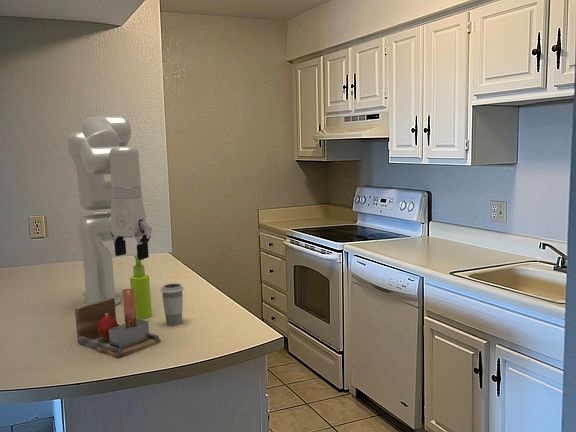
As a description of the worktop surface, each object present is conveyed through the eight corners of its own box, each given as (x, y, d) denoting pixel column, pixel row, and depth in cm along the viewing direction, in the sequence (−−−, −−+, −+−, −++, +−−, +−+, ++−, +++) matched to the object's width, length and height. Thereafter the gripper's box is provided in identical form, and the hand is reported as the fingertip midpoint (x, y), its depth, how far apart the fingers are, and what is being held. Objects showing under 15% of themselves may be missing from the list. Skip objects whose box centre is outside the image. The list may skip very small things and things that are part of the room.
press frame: (74, 343, 158) (71, 309, 157) (116, 329, 169) (114, 296, 168) (118, 358, 146) (115, 321, 144) (160, 342, 157) (158, 307, 155)
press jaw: (108, 346, 152) (103, 292, 149) (138, 335, 159) (134, 284, 157) (120, 350, 148) (116, 295, 146) (150, 339, 156) (146, 286, 154)
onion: (100, 337, 163) (98, 310, 162) (121, 335, 163) (119, 309, 162) (95, 344, 157) (93, 316, 156) (116, 343, 157) (114, 315, 156)
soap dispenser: (136, 321, 176) (131, 258, 173) (131, 315, 182) (126, 255, 179) (154, 318, 179) (150, 256, 176) (149, 312, 185) (145, 252, 182)
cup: (174, 328, 168) (171, 289, 166) (158, 325, 171) (155, 287, 170) (190, 321, 174) (188, 283, 172) (174, 318, 177) (172, 281, 176)
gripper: (95, 194, 152) (101, 256, 154) (135, 196, 141) (140, 262, 143) (119, 191, 158) (124, 251, 160) (159, 193, 147) (163, 257, 149)
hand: (131, 256), depth 152 cm, fingers open, 9 cm apart
